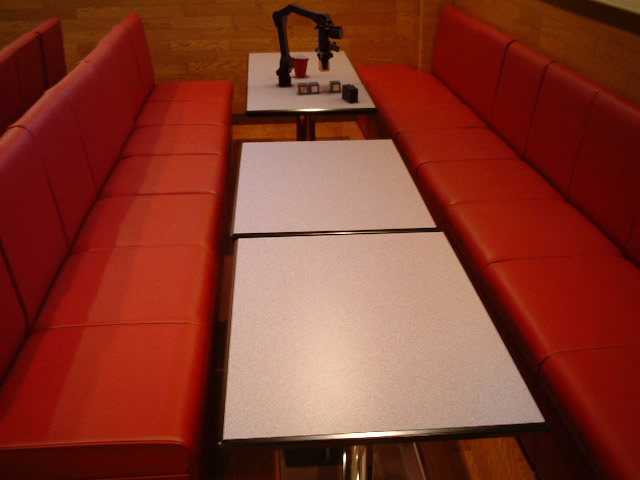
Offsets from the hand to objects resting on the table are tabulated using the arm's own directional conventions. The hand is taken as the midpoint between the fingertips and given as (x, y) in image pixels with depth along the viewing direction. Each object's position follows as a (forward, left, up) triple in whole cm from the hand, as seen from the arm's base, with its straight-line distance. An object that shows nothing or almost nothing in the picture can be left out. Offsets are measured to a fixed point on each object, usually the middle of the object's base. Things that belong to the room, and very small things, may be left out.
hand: (324, 68), depth 337 cm
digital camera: (+9, -24, -11) cm, 28 cm away
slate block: (-7, -5, -11) cm, 14 cm away
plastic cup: (-8, +31, -11) cm, 34 cm away
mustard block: (0, 0, -1) cm, 1 cm away
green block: (+5, -5, -11) cm, 13 cm away
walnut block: (-13, -5, -11) cm, 17 cm away
